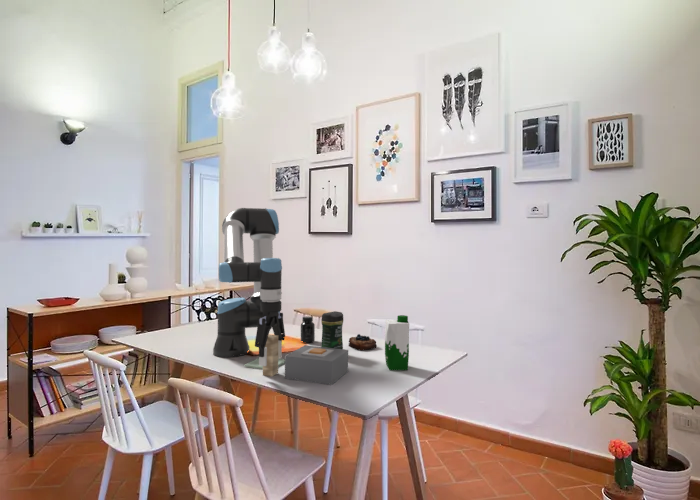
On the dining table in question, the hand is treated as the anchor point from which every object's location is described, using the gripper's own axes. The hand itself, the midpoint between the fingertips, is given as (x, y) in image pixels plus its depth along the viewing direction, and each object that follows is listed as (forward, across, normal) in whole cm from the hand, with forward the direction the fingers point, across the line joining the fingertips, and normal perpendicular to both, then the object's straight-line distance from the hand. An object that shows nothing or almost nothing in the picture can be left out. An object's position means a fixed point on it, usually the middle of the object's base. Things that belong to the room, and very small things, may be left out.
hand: (270, 361), depth 148 cm
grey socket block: (+5, +6, -16) cm, 18 cm away
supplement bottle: (+5, +49, +9) cm, 50 cm away
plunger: (+1, +6, -16) cm, 17 cm away
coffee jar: (+5, +32, -11) cm, 34 cm away
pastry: (+5, +50, -19) cm, 53 cm away
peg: (+5, 0, 0) cm, 5 cm away
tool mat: (+5, +10, +8) cm, 14 cm away
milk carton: (+5, +25, -41) cm, 48 cm away
